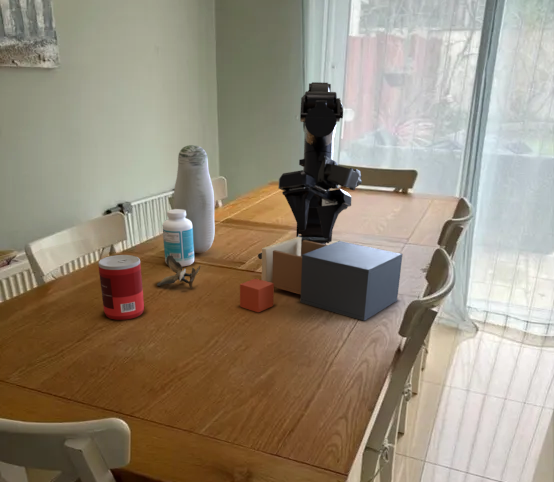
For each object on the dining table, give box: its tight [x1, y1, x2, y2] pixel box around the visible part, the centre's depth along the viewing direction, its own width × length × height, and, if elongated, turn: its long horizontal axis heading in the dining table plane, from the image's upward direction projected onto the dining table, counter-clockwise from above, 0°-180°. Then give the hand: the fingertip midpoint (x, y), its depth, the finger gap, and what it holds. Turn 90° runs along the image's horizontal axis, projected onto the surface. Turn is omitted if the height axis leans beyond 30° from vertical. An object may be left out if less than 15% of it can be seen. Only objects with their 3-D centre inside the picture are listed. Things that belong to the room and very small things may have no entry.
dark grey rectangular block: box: [299, 240, 403, 322], centre depth 116 cm, size 16×15×11 cm
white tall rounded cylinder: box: [173, 144, 216, 254], centre depth 145 cm, size 10×10×28 cm
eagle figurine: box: [156, 255, 202, 290], centre depth 124 cm, size 8×7×9 cm
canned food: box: [98, 254, 145, 321], centre depth 108 cm, size 8×8×11 cm
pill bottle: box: [161, 208, 195, 267], centre depth 138 cm, size 8×7×14 cm
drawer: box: [257, 236, 328, 295], centre depth 124 cm, size 19×13×9 cm
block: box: [239, 277, 275, 313], centre depth 114 cm, size 5×5×5 cm
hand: (315, 234), depth 108 cm, fingers open, 9 cm apart
